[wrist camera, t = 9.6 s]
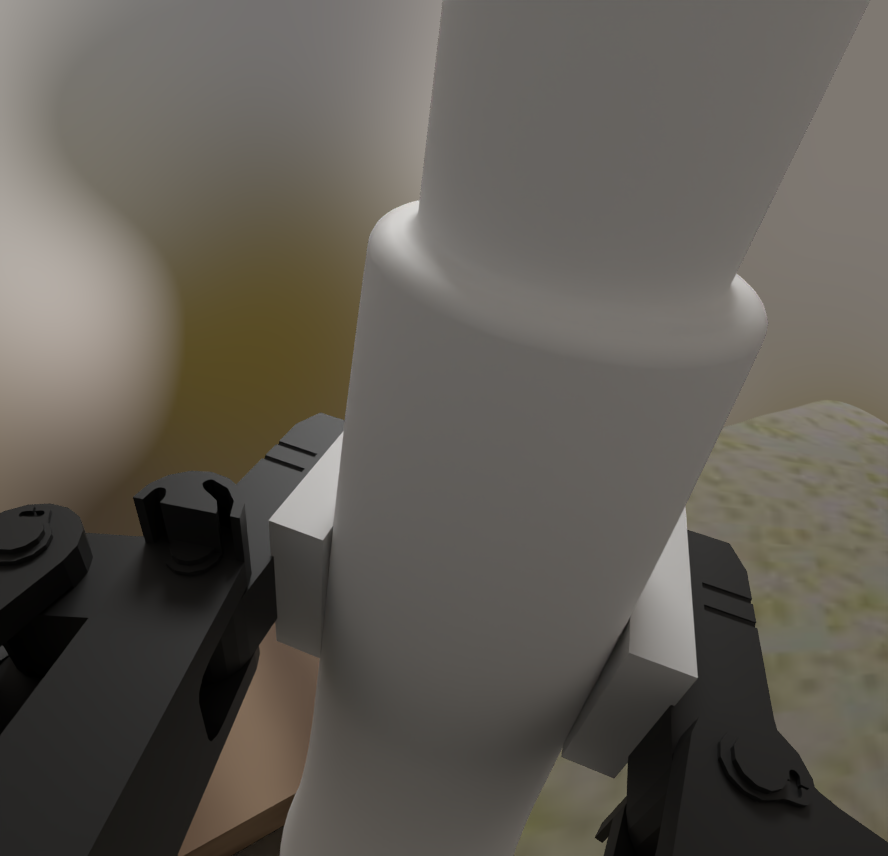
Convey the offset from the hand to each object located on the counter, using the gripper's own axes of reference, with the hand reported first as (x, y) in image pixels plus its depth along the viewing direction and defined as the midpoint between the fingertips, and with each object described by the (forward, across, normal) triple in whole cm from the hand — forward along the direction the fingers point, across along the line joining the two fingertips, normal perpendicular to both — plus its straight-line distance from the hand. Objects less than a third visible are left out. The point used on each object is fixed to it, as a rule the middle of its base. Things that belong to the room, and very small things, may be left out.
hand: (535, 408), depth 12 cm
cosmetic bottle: (-5, 0, -11) cm, 12 cm away
